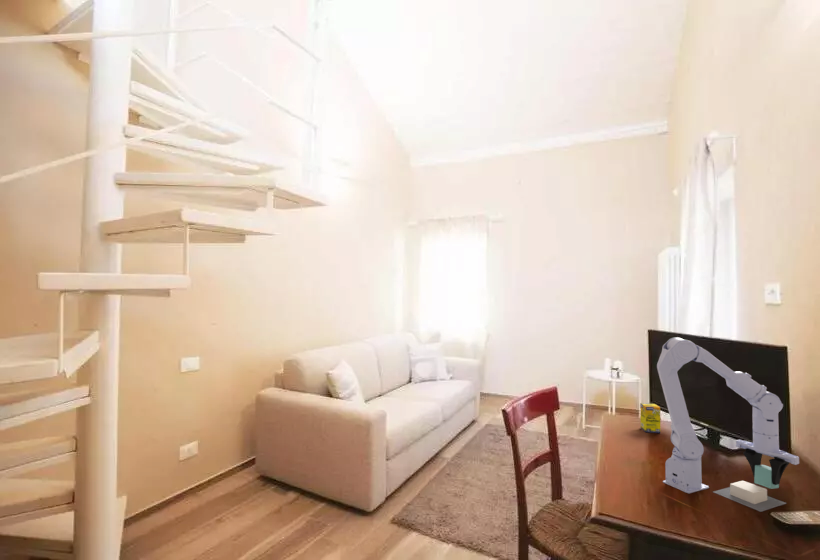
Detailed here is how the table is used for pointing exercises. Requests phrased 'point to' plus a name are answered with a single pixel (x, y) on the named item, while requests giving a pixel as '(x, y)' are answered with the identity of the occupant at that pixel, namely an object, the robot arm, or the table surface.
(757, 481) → the teal block
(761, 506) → the grey flat square plate
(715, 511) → the table surface
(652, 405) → the supplement box
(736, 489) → the cream slab
